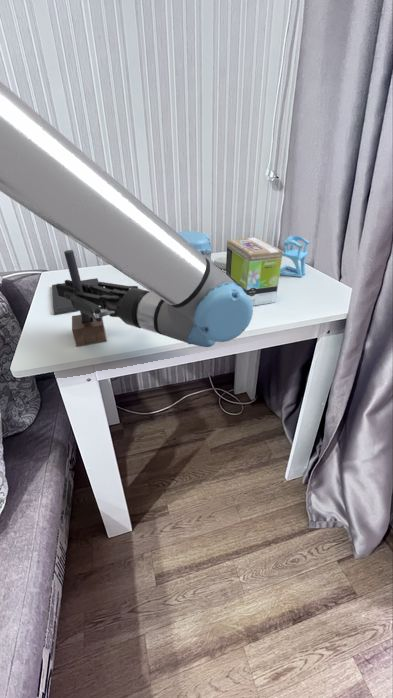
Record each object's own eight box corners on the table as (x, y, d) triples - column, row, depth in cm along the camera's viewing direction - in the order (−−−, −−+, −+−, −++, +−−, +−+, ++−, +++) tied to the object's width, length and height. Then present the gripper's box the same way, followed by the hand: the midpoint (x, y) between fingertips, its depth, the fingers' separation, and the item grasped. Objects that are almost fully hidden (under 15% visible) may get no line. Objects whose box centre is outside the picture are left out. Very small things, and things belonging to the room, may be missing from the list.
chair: (298, 279, 104) (304, 242, 97) (275, 274, 108) (279, 237, 102) (308, 272, 109) (315, 236, 102) (285, 267, 113) (290, 232, 107)
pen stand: (76, 346, 74) (71, 329, 71) (76, 332, 79) (71, 315, 76) (106, 341, 75) (103, 324, 73) (104, 327, 81) (101, 311, 78)
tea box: (277, 302, 91) (284, 250, 82) (244, 308, 88) (248, 254, 80) (253, 283, 103) (257, 235, 94) (224, 287, 100) (225, 238, 92)
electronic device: (220, 236, 113) (257, 242, 105) (220, 263, 119) (255, 271, 111) (210, 239, 110) (248, 246, 102) (211, 267, 115) (247, 275, 107)
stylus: (85, 336, 76) (62, 252, 65) (89, 333, 78) (67, 249, 67) (92, 337, 76) (69, 252, 65) (95, 333, 77) (74, 250, 66)
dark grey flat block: (52, 287, 102) (51, 284, 101) (97, 280, 106) (97, 277, 105) (54, 315, 86) (53, 311, 86) (107, 305, 91) (106, 302, 90)
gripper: (124, 344, 60) (40, 316, 70) (168, 311, 71) (89, 291, 80) (119, 308, 56) (29, 283, 65) (166, 279, 66) (83, 261, 76)
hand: (62, 287), depth 73 cm, fingers closed on stylus, 2 cm apart
